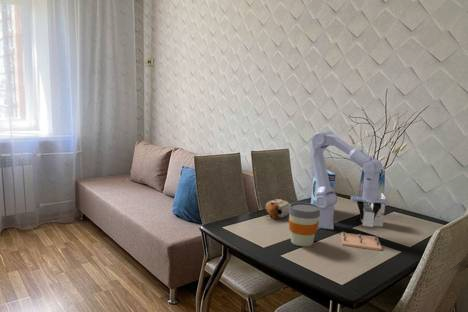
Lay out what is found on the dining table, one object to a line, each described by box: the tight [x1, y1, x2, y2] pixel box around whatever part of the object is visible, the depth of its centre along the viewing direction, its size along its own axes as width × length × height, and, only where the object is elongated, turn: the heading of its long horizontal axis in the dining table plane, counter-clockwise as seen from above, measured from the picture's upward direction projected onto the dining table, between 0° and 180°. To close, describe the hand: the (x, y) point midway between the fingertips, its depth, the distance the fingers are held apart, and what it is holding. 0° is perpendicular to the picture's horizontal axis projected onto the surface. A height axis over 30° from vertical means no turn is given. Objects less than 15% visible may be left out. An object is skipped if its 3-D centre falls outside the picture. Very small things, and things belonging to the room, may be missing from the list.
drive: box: [360, 205, 375, 228], centre depth 145 cm, size 4×8×6 cm, turn 166°
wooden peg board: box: [340, 231, 383, 251], centre depth 143 cm, size 15×12×2 cm
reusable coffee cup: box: [288, 201, 320, 247], centre depth 140 cm, size 13×12×15 cm
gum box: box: [310, 168, 337, 205], centre depth 177 cm, size 20×5×23 cm, turn 4°
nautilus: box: [264, 198, 291, 222], centre depth 170 cm, size 8×22×15 cm
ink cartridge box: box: [370, 192, 386, 227], centre depth 164 cm, size 9×5×15 cm, turn 168°
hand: (367, 219), depth 145 cm, fingers closed on drive, 4 cm apart
